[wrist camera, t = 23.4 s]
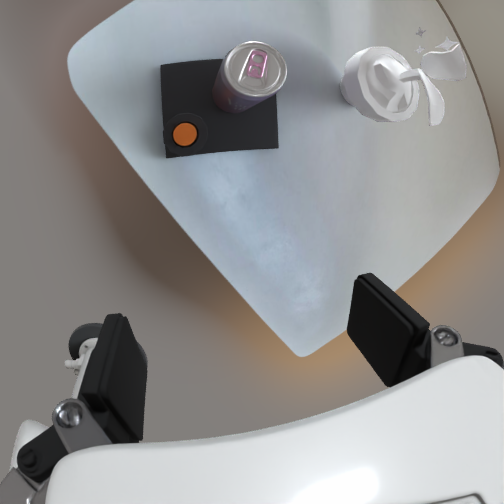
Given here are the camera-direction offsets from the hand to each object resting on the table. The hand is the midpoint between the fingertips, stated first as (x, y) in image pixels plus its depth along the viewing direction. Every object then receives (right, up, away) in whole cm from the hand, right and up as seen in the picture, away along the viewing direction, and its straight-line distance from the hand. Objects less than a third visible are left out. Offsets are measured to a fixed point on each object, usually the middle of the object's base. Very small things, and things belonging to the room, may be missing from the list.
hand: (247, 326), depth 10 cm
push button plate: (-4, +24, +24) cm, 34 cm away
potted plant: (+17, +29, +26) cm, 43 cm away
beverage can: (-2, +25, +23) cm, 34 cm away
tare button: (-9, +18, +23) cm, 31 cm away
